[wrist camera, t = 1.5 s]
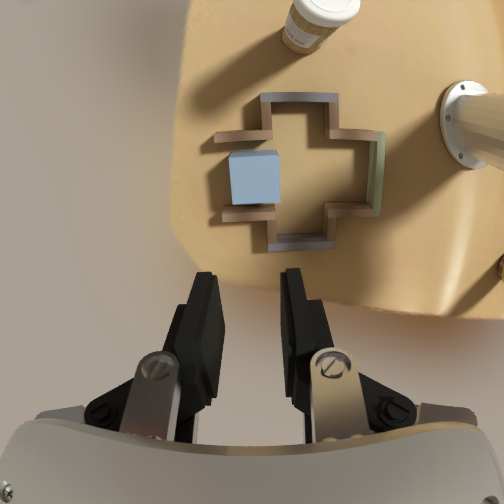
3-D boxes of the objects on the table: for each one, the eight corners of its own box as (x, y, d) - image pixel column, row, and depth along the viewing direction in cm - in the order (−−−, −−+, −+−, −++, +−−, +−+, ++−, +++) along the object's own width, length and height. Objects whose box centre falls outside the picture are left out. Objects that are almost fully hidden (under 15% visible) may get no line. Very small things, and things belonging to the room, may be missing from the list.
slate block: (276, 149, 30) (278, 155, 27) (278, 191, 33) (280, 202, 29) (232, 152, 31) (228, 157, 27) (235, 193, 33) (232, 204, 30)
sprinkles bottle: (329, 47, 24) (373, 13, 12) (292, 60, 25) (317, 28, 13) (309, 15, 22) (341, -35, 10) (273, 27, 23) (283, -22, 11)
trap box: (376, 98, 27) (385, 98, 24) (369, 238, 35) (375, 246, 33) (213, 97, 27) (210, 96, 25) (228, 243, 36) (226, 253, 34)
